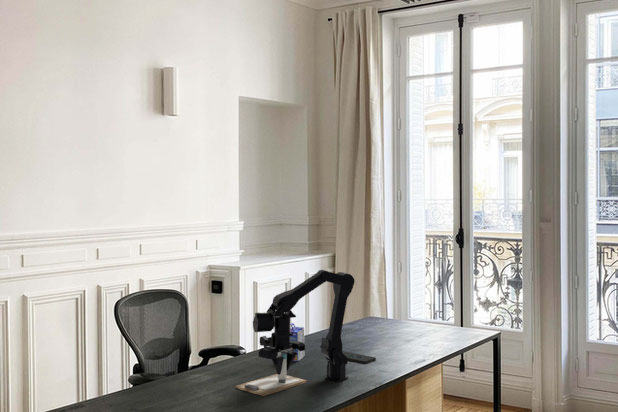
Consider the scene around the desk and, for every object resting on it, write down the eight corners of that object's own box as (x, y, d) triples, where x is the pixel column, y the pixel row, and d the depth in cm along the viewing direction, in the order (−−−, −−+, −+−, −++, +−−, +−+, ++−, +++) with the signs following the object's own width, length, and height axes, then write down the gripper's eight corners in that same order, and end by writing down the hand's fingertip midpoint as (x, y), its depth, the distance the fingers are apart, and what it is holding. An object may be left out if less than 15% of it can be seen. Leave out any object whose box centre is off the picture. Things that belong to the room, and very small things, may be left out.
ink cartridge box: (292, 355, 292) (292, 321, 292) (305, 356, 291) (305, 321, 290) (285, 360, 283) (285, 325, 282) (298, 361, 281) (298, 326, 281)
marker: (288, 381, 249) (288, 353, 248) (282, 383, 246) (282, 355, 246) (282, 379, 251) (282, 352, 251) (275, 381, 248) (275, 354, 248)
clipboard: (306, 382, 252) (306, 377, 252) (263, 396, 235) (263, 390, 235) (279, 375, 261) (279, 370, 261) (235, 388, 245) (235, 383, 245)
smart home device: (365, 361, 278) (326, 353, 291) (365, 365, 278) (326, 357, 291) (376, 357, 284) (338, 349, 297) (376, 361, 284) (338, 353, 297)
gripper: (284, 323, 260) (284, 364, 261) (247, 330, 246) (247, 374, 247) (306, 327, 253) (306, 369, 253) (269, 335, 239) (269, 380, 239)
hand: (282, 373), depth 248 cm, fingers closed on marker, 3 cm apart
